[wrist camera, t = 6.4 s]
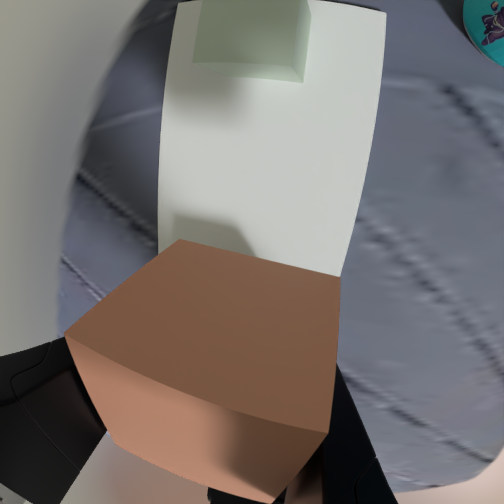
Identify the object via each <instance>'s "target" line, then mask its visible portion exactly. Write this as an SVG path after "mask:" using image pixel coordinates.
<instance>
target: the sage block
mask: <svg viewBox="0 0 504 504" xmlns="http://www.w3.org/2000/svg"><path fill="white" fill-rule="evenodd" d="M311 18H312V15H311V12H310V8H309V4H308V1H307V0H203V1H202V6H201V11H200V17H199V22H198V28H197V34H196V40H195V47H194V53H193V60H192V63H194V64H196V65H199V66H202V67H204V68H207V69H209V70H212V71H214V72H217V73H219V74H222V75H224V76H227V77H244V78H259V79H270V80H280V81H288V82H296V83H303V82H304V75H305V67H306V59H307V51H308V43H309V35H310V26H311Z"/></svg>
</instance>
